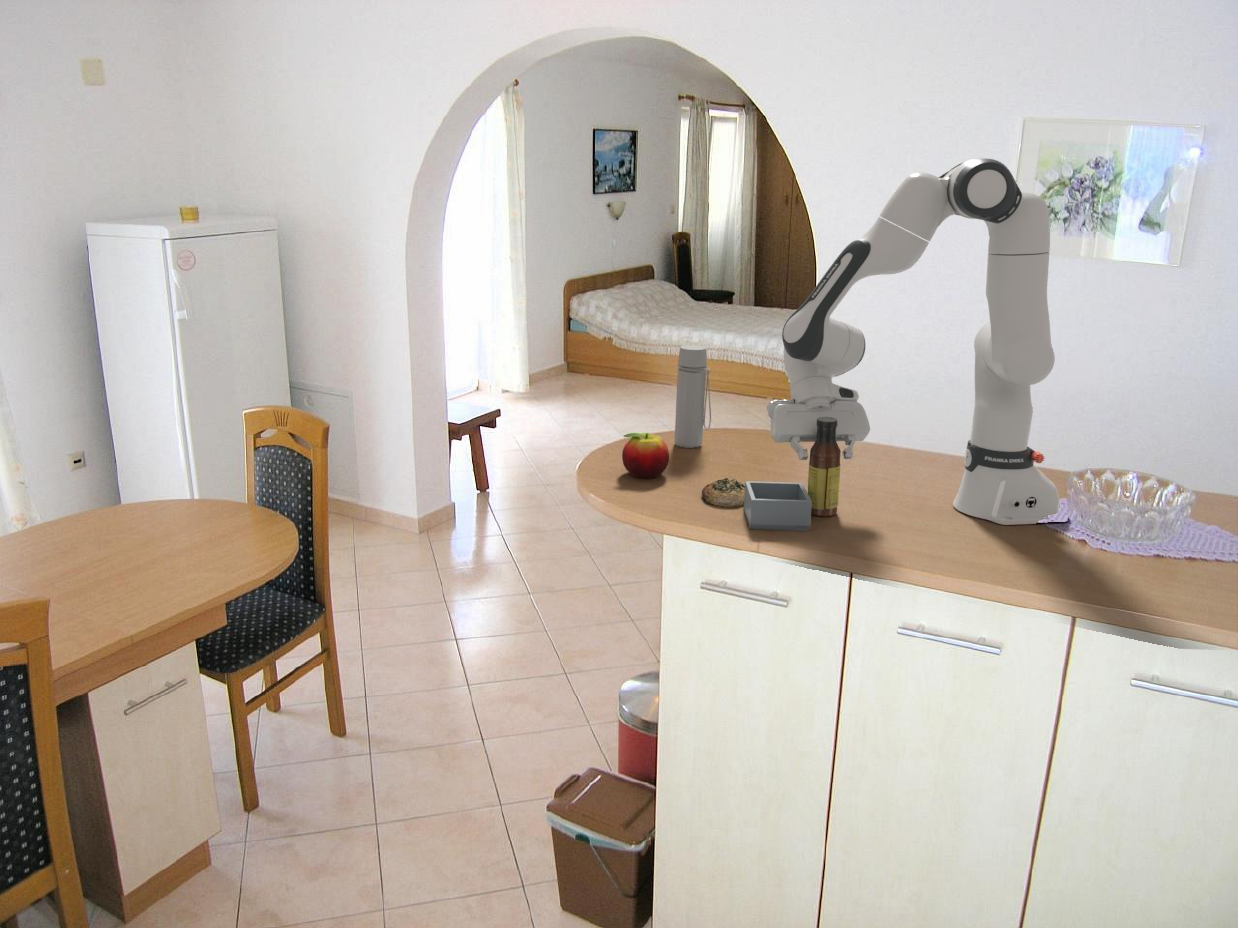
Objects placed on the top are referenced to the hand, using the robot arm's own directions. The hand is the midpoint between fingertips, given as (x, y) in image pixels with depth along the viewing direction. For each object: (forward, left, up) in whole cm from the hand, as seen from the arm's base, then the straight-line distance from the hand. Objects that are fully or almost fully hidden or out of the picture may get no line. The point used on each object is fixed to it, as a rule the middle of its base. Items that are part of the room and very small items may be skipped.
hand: (826, 458), depth 191 cm
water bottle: (+24, -47, -12) cm, 54 cm away
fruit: (+36, -22, -12) cm, 44 cm away
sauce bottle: (0, 0, -12) cm, 12 cm away
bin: (+10, +5, -12) cm, 16 cm away
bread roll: (+19, -7, -12) cm, 23 cm away
